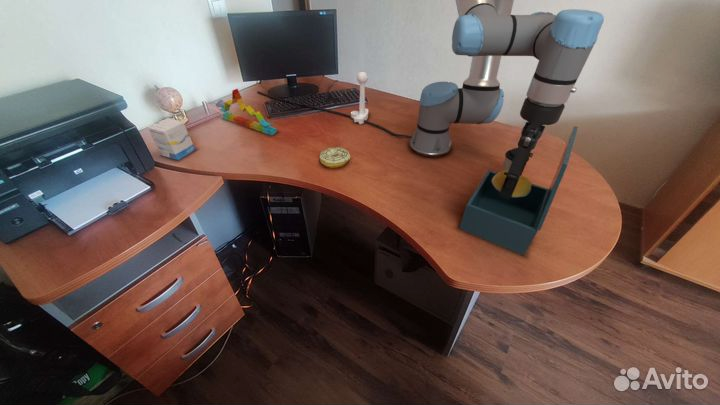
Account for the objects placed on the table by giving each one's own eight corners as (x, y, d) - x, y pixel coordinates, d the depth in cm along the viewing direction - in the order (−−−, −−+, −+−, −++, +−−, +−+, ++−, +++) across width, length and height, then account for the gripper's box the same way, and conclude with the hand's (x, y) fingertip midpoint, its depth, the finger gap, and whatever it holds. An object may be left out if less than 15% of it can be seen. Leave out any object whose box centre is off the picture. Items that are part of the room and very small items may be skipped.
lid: (562, 163, 57) (567, 164, 56) (574, 126, 68) (578, 126, 68) (536, 229, 67) (540, 230, 67) (549, 187, 79) (553, 188, 78)
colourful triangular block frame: (277, 132, 123) (269, 96, 113) (271, 135, 121) (263, 99, 111) (229, 115, 135) (218, 82, 125) (223, 118, 133) (211, 84, 123)
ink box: (196, 149, 113) (184, 121, 105) (177, 160, 107) (163, 131, 99) (180, 145, 116) (167, 116, 108) (161, 155, 110) (146, 126, 102)
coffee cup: (517, 187, 94) (529, 160, 87) (494, 180, 97) (504, 154, 90) (521, 176, 98) (532, 150, 92) (499, 170, 101) (509, 144, 94)
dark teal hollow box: (459, 228, 80) (466, 204, 75) (480, 193, 92) (488, 169, 86) (523, 255, 73) (537, 231, 68) (537, 213, 85) (550, 189, 79)
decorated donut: (356, 160, 106) (355, 151, 104) (334, 173, 100) (333, 164, 98) (335, 150, 111) (335, 141, 109) (314, 162, 106) (313, 153, 103)
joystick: (363, 124, 128) (363, 76, 114) (347, 122, 129) (345, 75, 116) (370, 113, 136) (371, 68, 122) (354, 111, 137) (353, 66, 124)
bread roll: (519, 203, 71) (525, 190, 68) (486, 186, 76) (490, 173, 73) (535, 189, 75) (541, 176, 72) (502, 173, 80) (507, 161, 77)
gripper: (558, 124, 52) (514, 216, 67) (572, 88, 65) (533, 171, 80) (513, 114, 55) (481, 204, 70) (535, 81, 69) (505, 163, 84)
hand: (509, 186), depth 75 cm, fingers closed on bread roll, 9 cm apart
